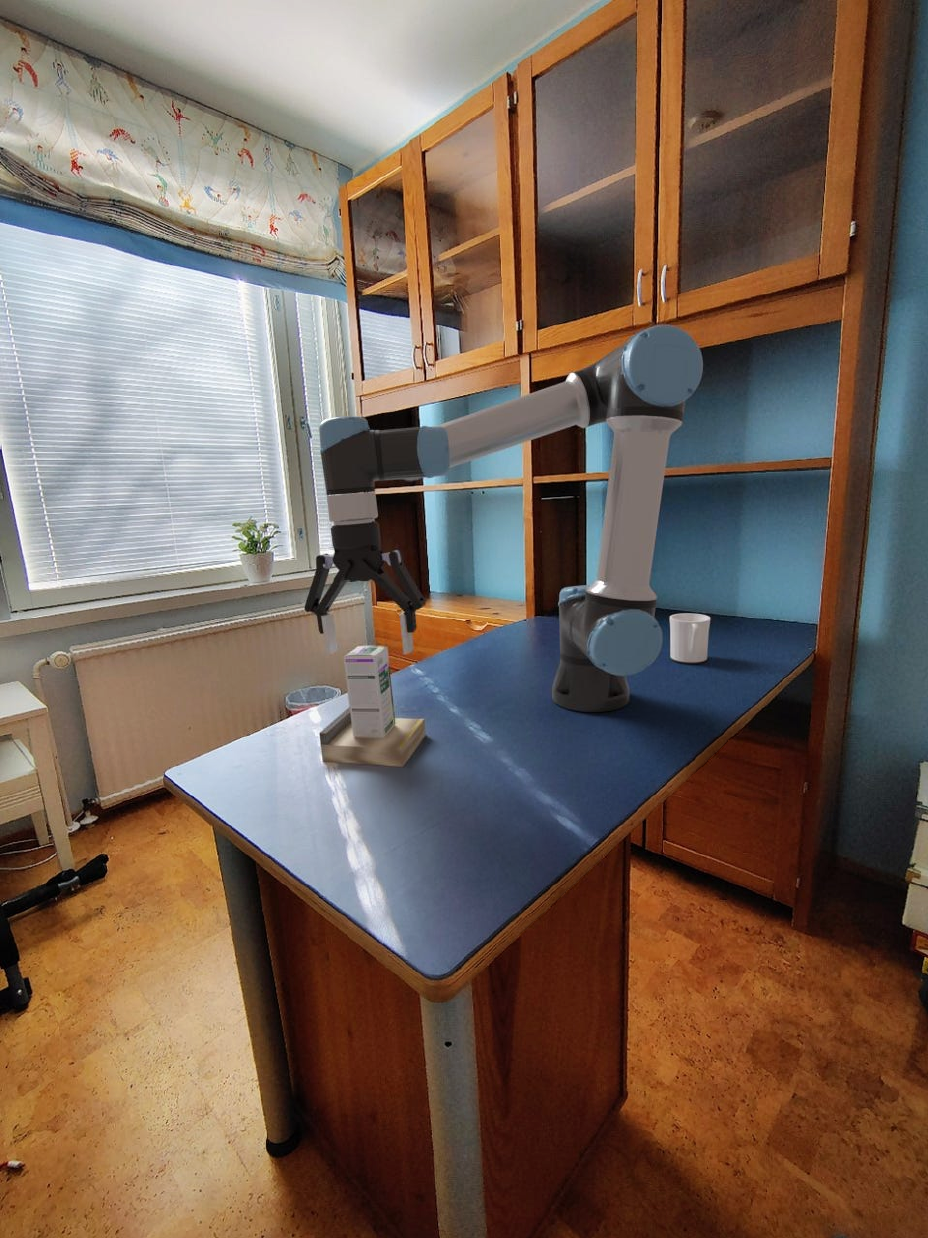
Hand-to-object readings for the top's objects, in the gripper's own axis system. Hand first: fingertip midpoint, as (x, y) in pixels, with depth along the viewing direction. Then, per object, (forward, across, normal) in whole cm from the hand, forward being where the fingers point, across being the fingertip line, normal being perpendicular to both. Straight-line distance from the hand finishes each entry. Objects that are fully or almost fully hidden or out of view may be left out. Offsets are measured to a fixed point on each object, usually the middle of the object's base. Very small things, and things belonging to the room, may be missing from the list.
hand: (369, 652), depth 94 cm
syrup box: (+14, +1, 0) cm, 14 cm away
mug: (+19, -56, -54) cm, 80 cm away
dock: (+17, +1, 0) cm, 17 cm away
